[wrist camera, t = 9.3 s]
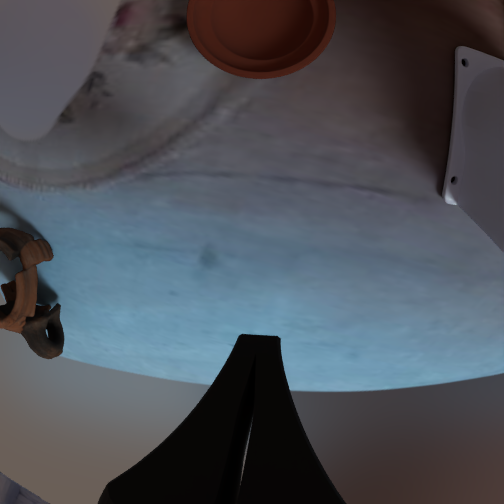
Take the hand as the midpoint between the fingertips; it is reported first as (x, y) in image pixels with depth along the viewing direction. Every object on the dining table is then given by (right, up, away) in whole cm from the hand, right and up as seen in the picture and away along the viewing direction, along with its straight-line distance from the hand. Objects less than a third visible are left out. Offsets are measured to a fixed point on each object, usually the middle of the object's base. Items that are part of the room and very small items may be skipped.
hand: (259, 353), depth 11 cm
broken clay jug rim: (-20, +2, +13) cm, 24 cm away
